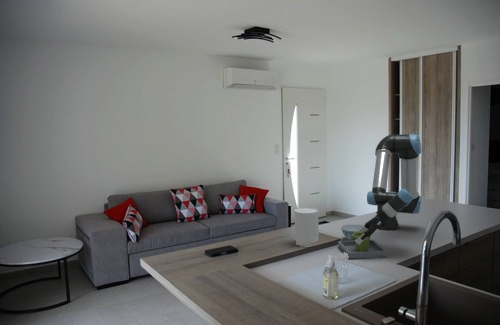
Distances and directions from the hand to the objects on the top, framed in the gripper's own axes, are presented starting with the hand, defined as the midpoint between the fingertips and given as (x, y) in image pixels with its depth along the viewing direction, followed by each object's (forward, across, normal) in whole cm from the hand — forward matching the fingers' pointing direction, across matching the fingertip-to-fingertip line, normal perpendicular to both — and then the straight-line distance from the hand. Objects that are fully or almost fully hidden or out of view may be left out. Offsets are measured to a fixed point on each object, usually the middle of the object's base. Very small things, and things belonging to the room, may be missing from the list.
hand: (357, 239), depth 208 cm
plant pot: (+3, 0, -6) cm, 7 cm away
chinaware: (+7, +21, -4) cm, 22 cm away
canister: (+25, +9, +15) cm, 31 cm away
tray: (+3, 0, -7) cm, 8 cm away
